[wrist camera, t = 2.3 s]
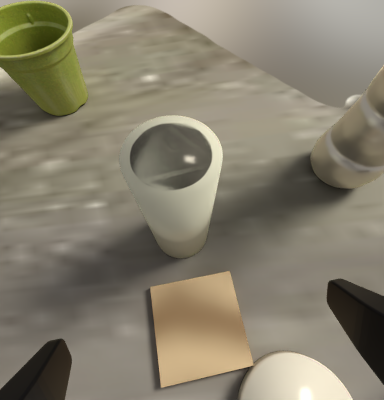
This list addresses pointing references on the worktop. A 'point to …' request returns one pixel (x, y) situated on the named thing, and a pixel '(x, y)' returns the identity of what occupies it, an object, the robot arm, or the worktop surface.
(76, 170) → the worktop surface
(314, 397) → the ivory rounded dome part
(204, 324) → the coaster
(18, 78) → the plant pot
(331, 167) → the plastic bottle
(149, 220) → the tumbler
